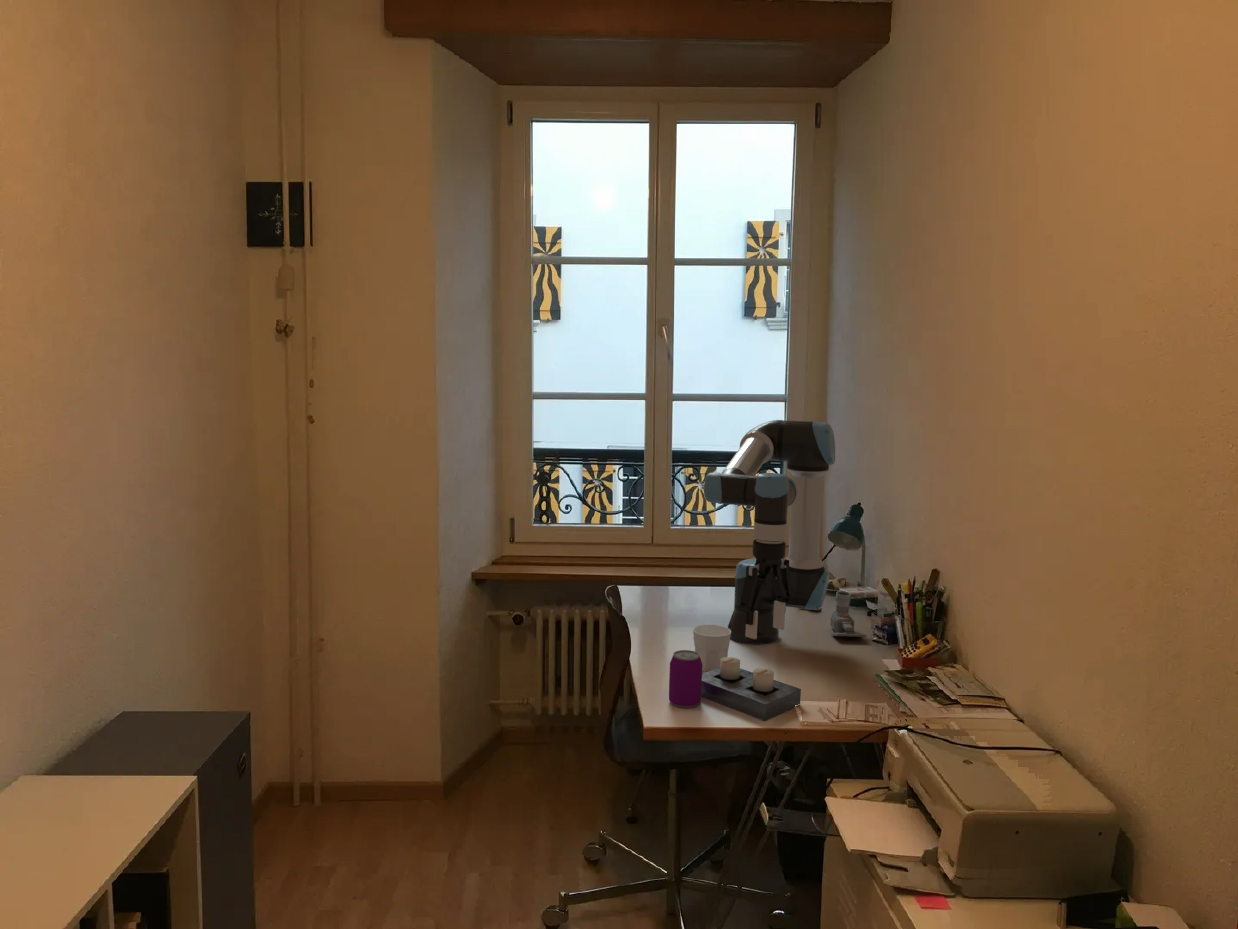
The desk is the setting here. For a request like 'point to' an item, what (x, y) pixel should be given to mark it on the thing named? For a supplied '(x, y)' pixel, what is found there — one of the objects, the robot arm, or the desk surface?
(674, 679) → the beverage can
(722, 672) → the knob
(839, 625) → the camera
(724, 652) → the cup
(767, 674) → the knob
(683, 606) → the desk surface
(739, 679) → the mount plate
